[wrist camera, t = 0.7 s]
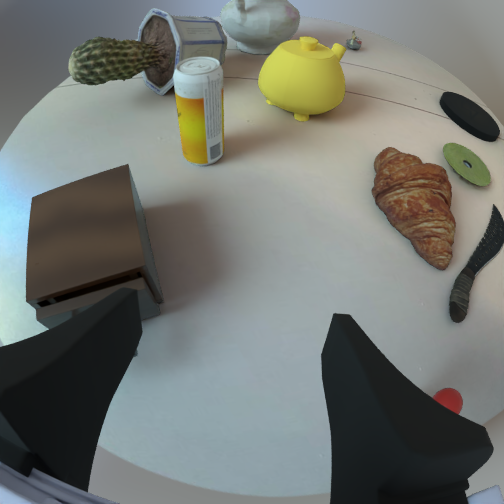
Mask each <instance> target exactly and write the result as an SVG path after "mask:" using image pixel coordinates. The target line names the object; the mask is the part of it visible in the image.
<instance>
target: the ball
mask: <svg viewBox="0 0 504 504" xmlns="http://www.w3.org/2000/svg"><path fill="white" fill-rule="evenodd" d="M433 399H434V400H435V401H437V402H438V403H440V404H442V405H443V406H445V407H446V408H448V409H450V410H451V411H453V412H455V413H457V414H459V413H460V411H461V409H462V405H463V400H462V396H461V394H460V393H459V392H458V391H457V390H455V389H453V388H445V389H442V390H440V391H438V392H437V393H436V394H435V395H434V396H433Z"/></svg>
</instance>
